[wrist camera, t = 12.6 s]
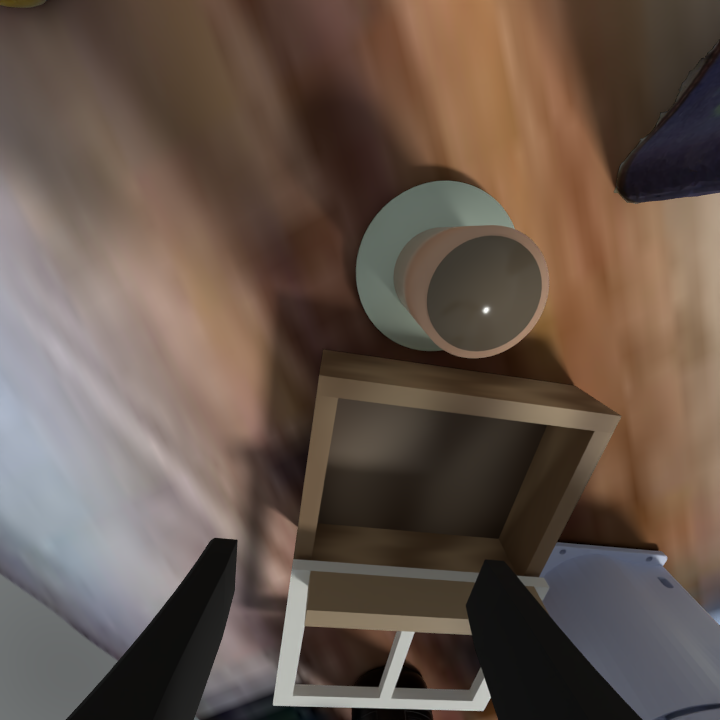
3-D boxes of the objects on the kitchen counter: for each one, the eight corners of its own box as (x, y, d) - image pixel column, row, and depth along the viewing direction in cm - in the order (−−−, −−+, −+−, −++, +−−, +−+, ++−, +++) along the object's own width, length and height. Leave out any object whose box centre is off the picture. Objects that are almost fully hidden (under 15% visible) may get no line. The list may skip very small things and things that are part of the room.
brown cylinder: (493, 233, 16) (570, 235, 10) (470, 324, 17) (527, 365, 12) (401, 220, 15) (434, 215, 10) (386, 314, 17) (407, 352, 11)
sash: (544, 577, 20) (572, 625, 18) (480, 699, 24) (495, 751, 22) (293, 559, 18) (285, 608, 16) (274, 693, 23) (266, 748, 20)
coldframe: (575, 385, 20) (621, 416, 16) (504, 545, 24) (530, 594, 21) (323, 349, 18) (319, 375, 15) (298, 527, 23) (290, 578, 19)
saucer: (534, 201, 16) (544, 199, 15) (484, 355, 19) (490, 360, 18) (371, 167, 15) (373, 163, 14) (344, 334, 18) (344, 339, 17)
